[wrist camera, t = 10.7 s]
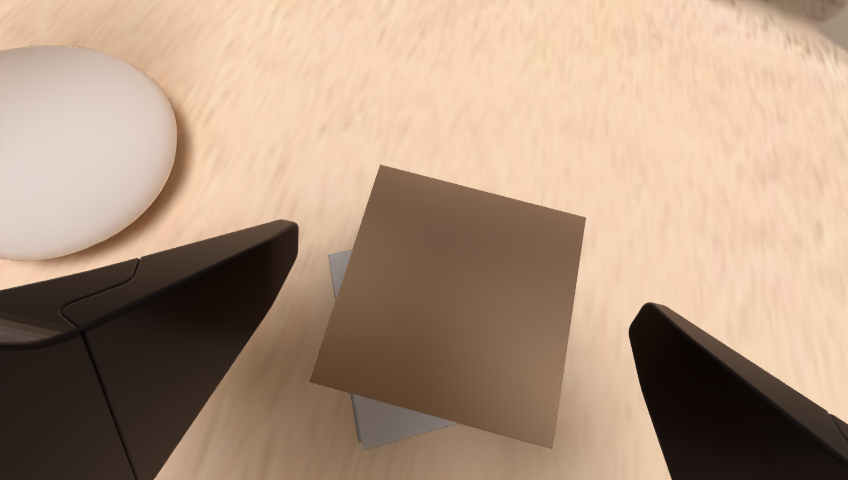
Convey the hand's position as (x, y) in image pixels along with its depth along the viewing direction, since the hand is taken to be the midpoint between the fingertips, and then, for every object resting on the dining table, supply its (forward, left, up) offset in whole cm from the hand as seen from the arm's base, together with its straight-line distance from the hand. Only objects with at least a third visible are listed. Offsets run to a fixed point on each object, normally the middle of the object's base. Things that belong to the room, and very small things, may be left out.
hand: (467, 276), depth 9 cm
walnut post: (0, -1, -9) cm, 9 cm away
